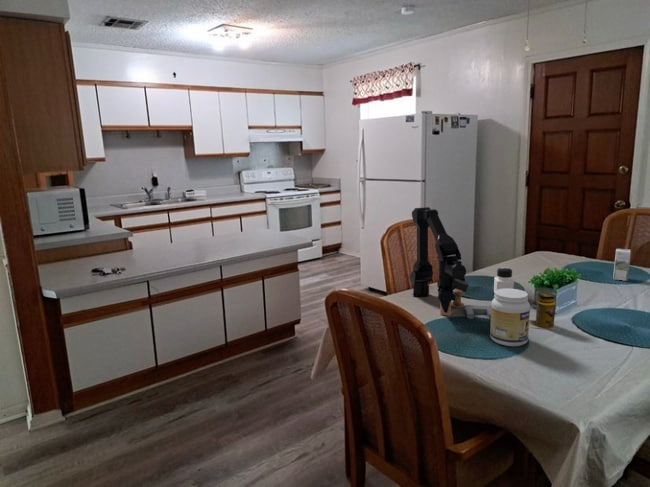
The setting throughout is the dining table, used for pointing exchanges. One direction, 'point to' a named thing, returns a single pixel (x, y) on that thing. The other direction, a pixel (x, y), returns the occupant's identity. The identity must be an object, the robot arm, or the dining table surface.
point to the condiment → (544, 312)
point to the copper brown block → (445, 312)
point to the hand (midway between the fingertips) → (445, 310)
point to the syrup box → (621, 264)
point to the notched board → (477, 310)
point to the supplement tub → (510, 317)
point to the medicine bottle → (503, 279)
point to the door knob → (457, 299)
